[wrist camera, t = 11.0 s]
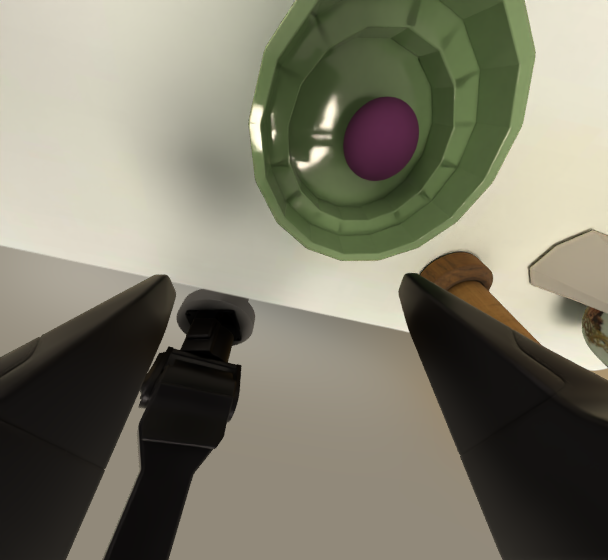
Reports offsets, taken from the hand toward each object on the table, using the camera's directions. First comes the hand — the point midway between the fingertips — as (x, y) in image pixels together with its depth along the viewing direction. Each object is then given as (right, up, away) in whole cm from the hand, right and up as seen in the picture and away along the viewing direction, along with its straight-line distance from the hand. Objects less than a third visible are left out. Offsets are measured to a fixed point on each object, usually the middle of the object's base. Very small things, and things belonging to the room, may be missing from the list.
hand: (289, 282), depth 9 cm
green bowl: (+4, +10, +7) cm, 13 cm away
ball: (+5, +9, +5) cm, 11 cm away
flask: (+28, +2, +15) cm, 32 cm away
